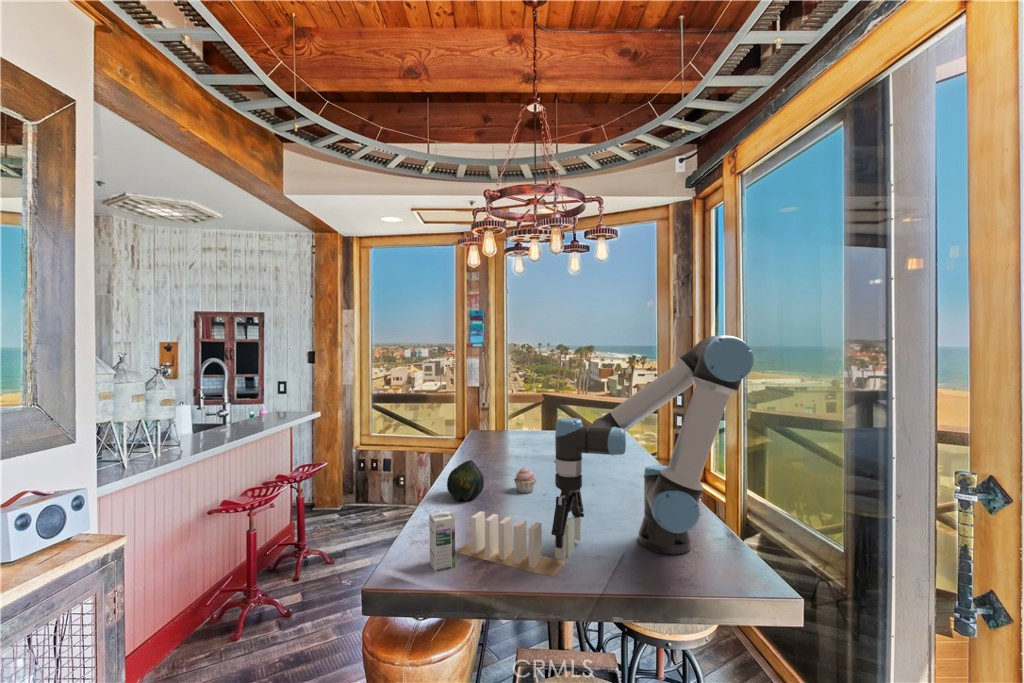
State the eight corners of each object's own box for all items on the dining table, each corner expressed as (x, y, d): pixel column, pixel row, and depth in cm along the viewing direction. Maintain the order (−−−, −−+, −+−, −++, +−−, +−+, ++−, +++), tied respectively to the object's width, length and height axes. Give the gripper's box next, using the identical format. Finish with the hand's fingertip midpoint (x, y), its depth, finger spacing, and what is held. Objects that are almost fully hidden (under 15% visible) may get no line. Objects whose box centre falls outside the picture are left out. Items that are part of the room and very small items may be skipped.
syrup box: (434, 576, 117) (434, 520, 117) (429, 566, 122) (429, 512, 122) (455, 571, 119) (455, 517, 119) (449, 561, 125) (449, 509, 125)
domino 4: (526, 556, 125) (526, 520, 125) (518, 563, 121) (518, 526, 121) (521, 554, 126) (521, 519, 126) (513, 562, 122) (513, 525, 122)
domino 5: (541, 559, 123) (541, 523, 123) (534, 567, 119) (534, 529, 119) (536, 558, 124) (536, 522, 124) (528, 566, 120) (528, 528, 120)
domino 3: (512, 552, 127) (512, 517, 127) (504, 560, 123) (504, 523, 123) (507, 551, 128) (507, 516, 128) (498, 559, 124) (498, 522, 124)
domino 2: (498, 549, 130) (498, 514, 130) (489, 556, 125) (489, 520, 125) (493, 548, 130) (493, 513, 130) (484, 555, 126) (484, 519, 126)
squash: (435, 488, 170) (461, 459, 170) (445, 478, 185) (469, 451, 185) (462, 515, 169) (489, 485, 168) (470, 502, 184) (495, 475, 183)
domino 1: (485, 546, 132) (484, 512, 132) (476, 553, 127) (475, 518, 127) (480, 545, 132) (480, 511, 132) (471, 552, 128) (471, 517, 128)
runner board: (565, 565, 122) (565, 561, 122) (553, 581, 114) (553, 576, 114) (471, 543, 136) (471, 539, 136) (454, 556, 128) (454, 551, 128)
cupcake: (541, 490, 184) (541, 466, 184) (526, 496, 177) (526, 471, 177) (523, 486, 190) (523, 462, 190) (509, 491, 183) (509, 467, 183)
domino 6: (574, 553, 130) (574, 518, 130) (568, 560, 125) (568, 525, 125) (569, 552, 130) (569, 517, 130) (563, 559, 126) (562, 523, 126)
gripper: (570, 461, 140) (570, 529, 140) (539, 483, 118) (539, 564, 118) (594, 464, 137) (593, 534, 137) (566, 487, 115) (565, 571, 115)
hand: (568, 548), depth 128 cm, fingers open, 12 cm apart
